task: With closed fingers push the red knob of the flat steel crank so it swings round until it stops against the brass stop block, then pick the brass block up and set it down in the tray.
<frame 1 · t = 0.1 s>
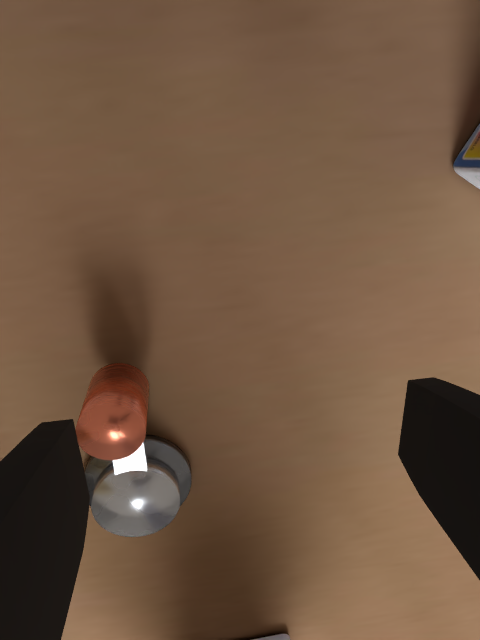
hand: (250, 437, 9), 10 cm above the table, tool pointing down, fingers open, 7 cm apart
bearing: (138, 477, 21), on the table
crank: (127, 472, 18), point 3 cm above the table, hinge at 0.0°
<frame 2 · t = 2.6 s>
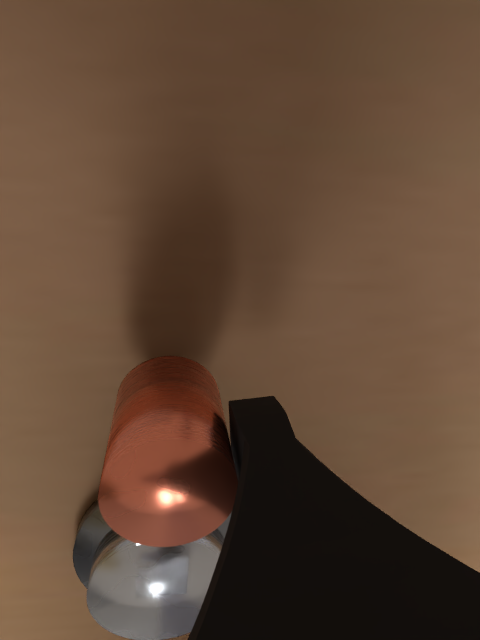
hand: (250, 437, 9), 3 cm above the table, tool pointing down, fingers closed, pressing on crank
bearing: (162, 538, 14), on the table
crank: (164, 549, 10), point 3 cm above the table, hinge at 0.5°, touching gripper
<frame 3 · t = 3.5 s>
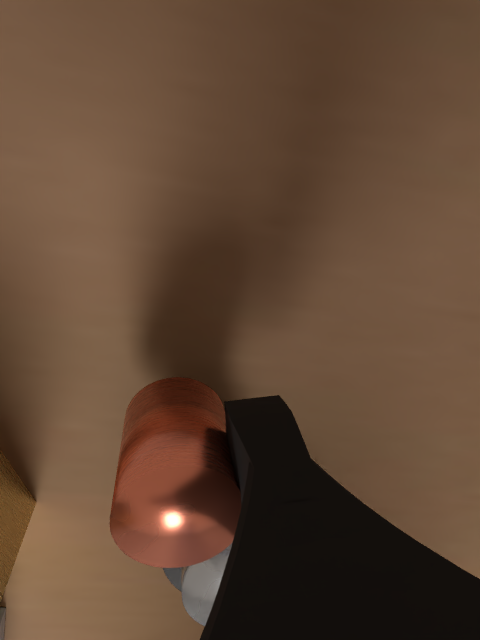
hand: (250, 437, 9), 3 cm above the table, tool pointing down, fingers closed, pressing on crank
crank: (226, 553, 11), point 3 cm above the table, hinge at 31.2°, touching gripper
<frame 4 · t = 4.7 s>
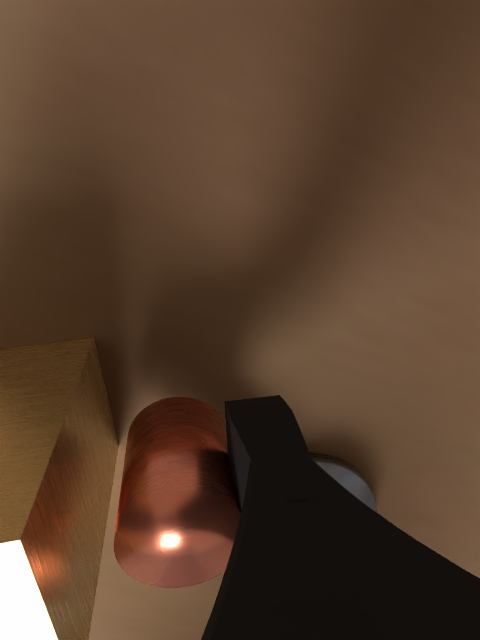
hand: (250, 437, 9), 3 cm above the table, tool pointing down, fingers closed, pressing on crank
bearing: (295, 517, 14), on the table
crank: (267, 547, 11), point 3 cm above the table, hinge at 63.6°, touching gripper
stop block: (40, 404, 11), on the table
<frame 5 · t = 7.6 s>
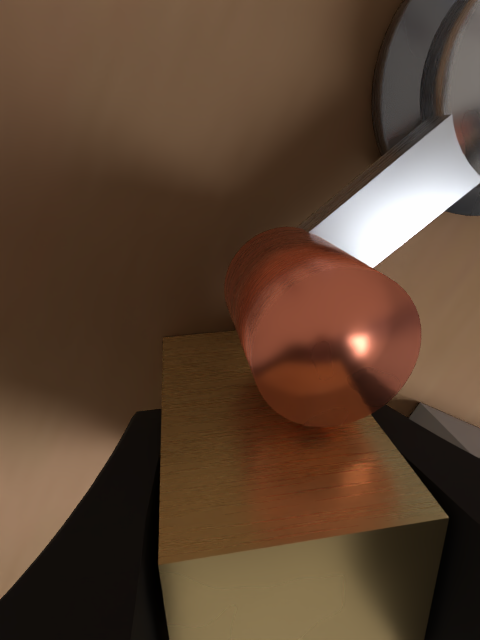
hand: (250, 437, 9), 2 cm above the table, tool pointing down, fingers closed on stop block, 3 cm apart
tray: (440, 536, 14), on the table
crank: (462, 178, 7), point 3 cm above the table, hinge at 66.9°
stop block: (236, 391, 11), on the table, touching gripper
when the fingers open (4 cm above the table, at t = 11.2 s): stop block stays where it is, resting on tray.
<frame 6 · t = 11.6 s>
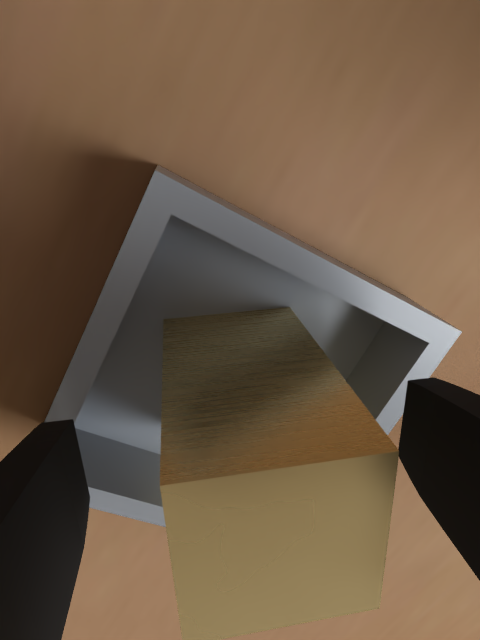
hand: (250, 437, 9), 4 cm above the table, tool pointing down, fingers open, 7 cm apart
tray: (228, 360, 13), on the table
stop block: (230, 368, 12), resting on tray
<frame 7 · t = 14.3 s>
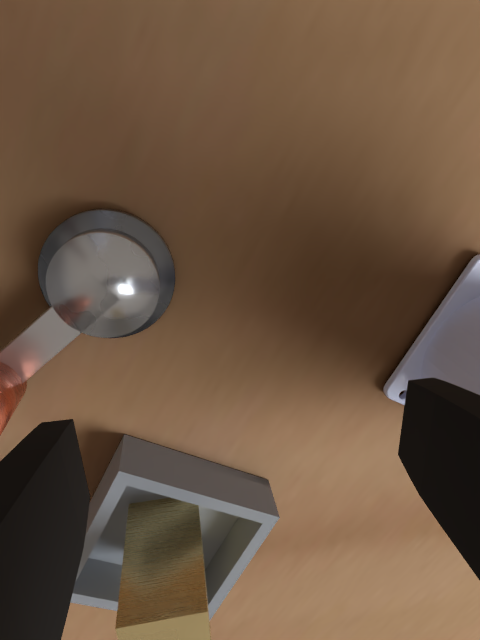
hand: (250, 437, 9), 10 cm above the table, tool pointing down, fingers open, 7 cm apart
bearing: (109, 274, 17), on the table
tray: (166, 516, 23), on the table
crank: (47, 341, 15), point 3 cm above the table, hinge at 66.9°
stop block: (167, 523, 22), resting on tray
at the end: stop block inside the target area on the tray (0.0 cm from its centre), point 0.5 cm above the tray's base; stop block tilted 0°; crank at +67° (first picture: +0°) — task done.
